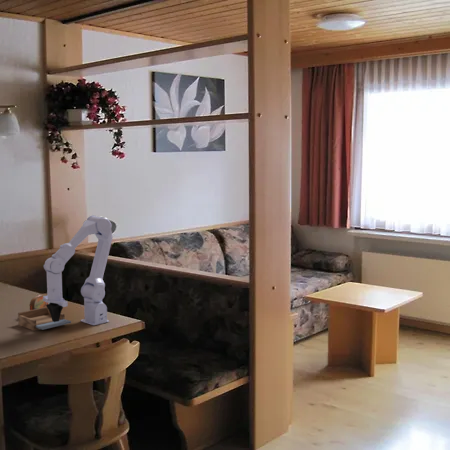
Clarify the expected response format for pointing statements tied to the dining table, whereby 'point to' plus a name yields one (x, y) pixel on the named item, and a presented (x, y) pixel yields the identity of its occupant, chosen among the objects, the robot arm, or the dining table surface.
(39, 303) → the tin
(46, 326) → the panel
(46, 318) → the light wood shallow box
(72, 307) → the dining table surface
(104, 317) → the robot arm
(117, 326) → the dining table surface
